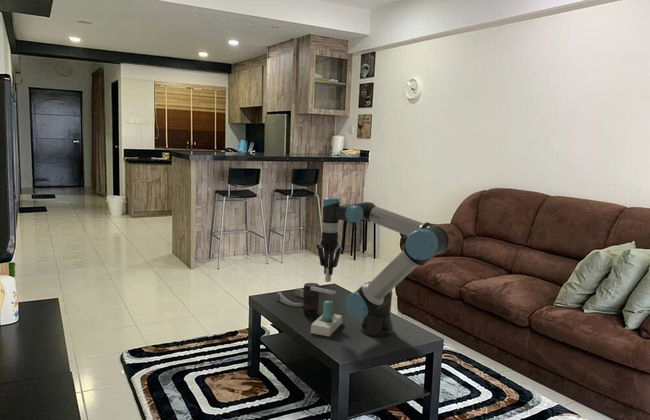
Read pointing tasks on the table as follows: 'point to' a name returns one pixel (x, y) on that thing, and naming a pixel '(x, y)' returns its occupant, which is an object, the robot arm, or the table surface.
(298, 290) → the neck fan
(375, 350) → the table surface
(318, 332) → the grey block with rod
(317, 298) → the camera lens
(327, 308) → the plug
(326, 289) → the grey square bar
